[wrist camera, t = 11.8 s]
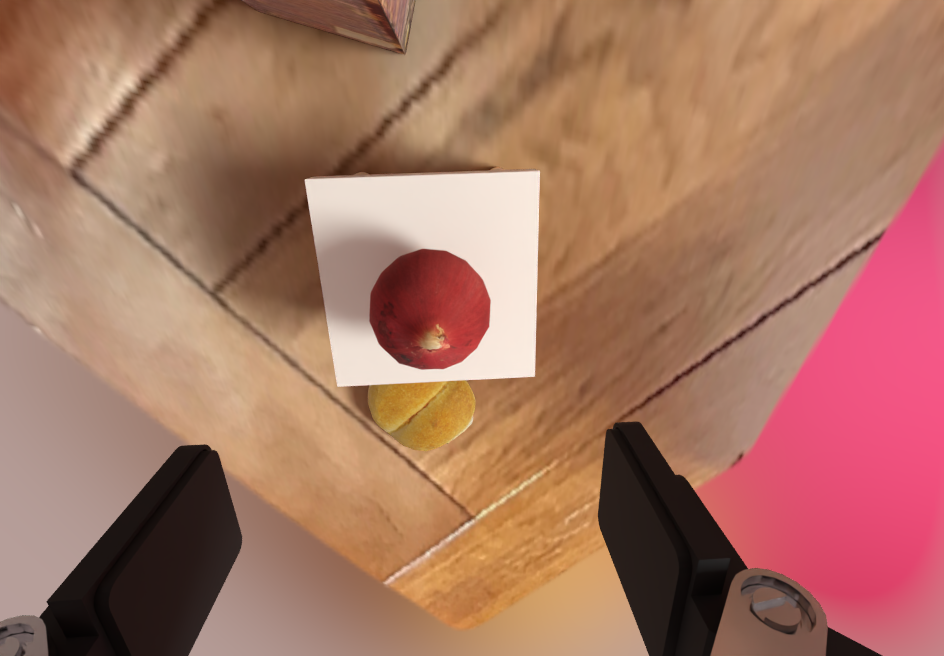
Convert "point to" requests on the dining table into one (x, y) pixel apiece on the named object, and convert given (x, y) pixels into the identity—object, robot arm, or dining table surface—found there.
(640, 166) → the dining table surface
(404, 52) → the book
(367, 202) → the stool
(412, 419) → the bread roll
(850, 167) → the dining table surface
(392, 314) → the onion
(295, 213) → the dining table surface
